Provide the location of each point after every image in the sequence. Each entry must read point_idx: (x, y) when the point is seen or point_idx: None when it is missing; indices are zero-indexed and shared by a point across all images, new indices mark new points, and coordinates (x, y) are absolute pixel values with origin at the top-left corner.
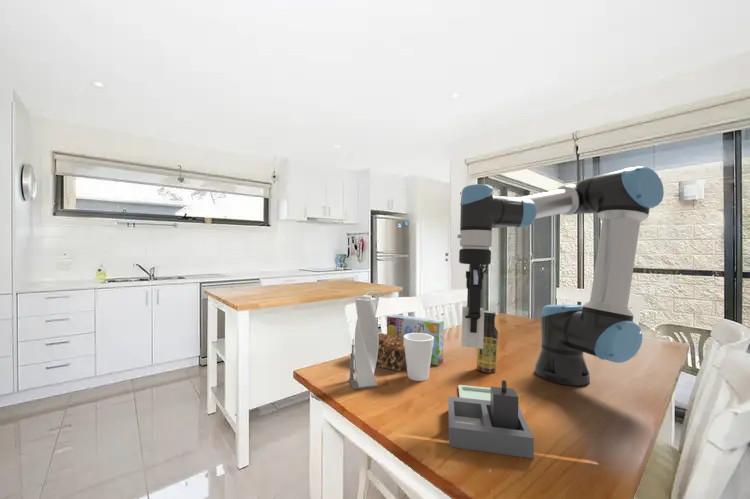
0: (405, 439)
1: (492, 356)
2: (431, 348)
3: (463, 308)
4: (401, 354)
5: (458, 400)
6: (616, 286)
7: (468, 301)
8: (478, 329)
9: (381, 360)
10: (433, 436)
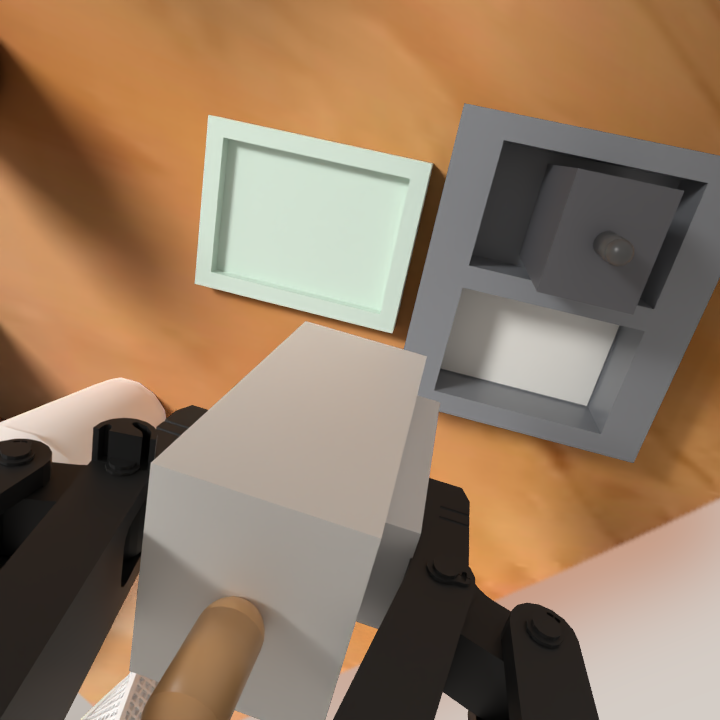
0: (561, 538)
1: None
2: (51, 442)
3: (262, 712)
4: None
5: (429, 370)
6: None
7: (81, 680)
8: (428, 474)
9: None
10: (553, 459)
